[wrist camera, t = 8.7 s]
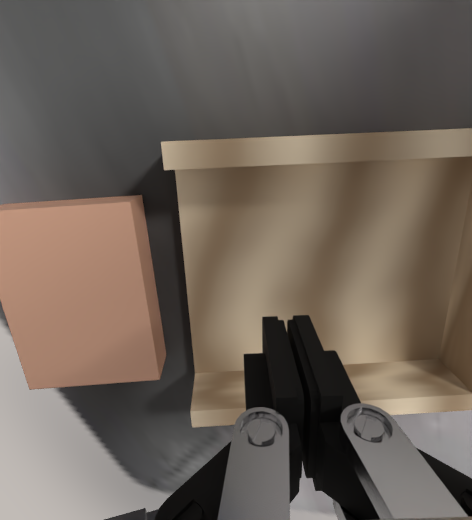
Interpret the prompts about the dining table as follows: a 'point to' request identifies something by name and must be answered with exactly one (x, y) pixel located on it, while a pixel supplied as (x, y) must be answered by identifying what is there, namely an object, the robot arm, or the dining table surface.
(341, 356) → the wooden tray
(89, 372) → the cover plate
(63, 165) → the dining table surface
